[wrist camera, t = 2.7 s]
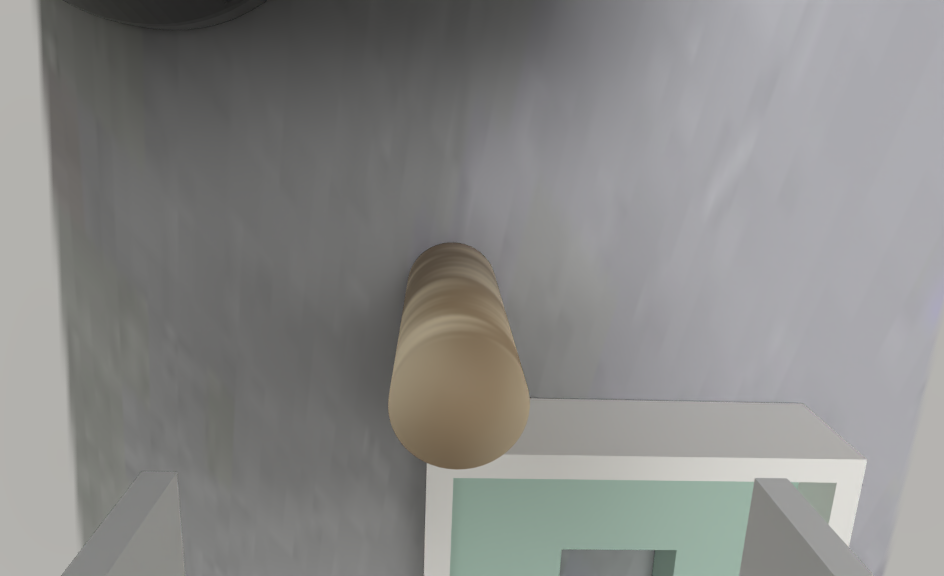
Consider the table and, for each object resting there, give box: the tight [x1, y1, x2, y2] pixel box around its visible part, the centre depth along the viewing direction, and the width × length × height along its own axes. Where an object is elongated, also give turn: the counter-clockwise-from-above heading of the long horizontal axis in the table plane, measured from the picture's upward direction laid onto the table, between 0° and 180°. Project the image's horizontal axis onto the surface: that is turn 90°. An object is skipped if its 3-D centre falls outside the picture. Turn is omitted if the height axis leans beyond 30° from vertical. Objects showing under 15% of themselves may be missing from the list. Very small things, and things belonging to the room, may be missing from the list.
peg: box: [388, 243, 530, 470], centre depth 29 cm, size 4×4×14 cm
